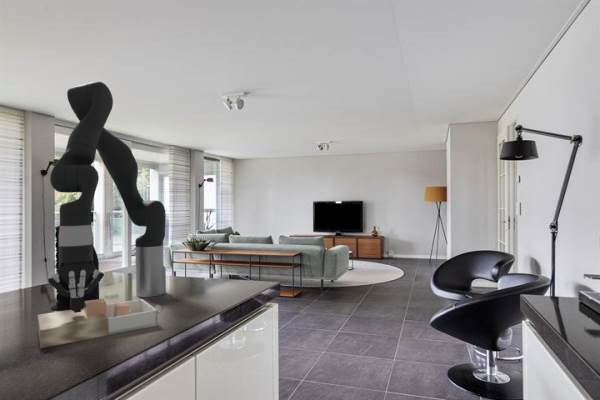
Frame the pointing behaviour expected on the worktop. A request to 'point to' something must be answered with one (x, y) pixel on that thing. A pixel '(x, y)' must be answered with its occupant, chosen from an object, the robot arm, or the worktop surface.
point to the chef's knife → (158, 308)
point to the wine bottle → (91, 277)
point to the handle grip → (60, 282)
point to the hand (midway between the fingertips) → (77, 311)
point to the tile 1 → (95, 307)
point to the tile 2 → (121, 309)
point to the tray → (132, 317)
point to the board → (70, 327)
